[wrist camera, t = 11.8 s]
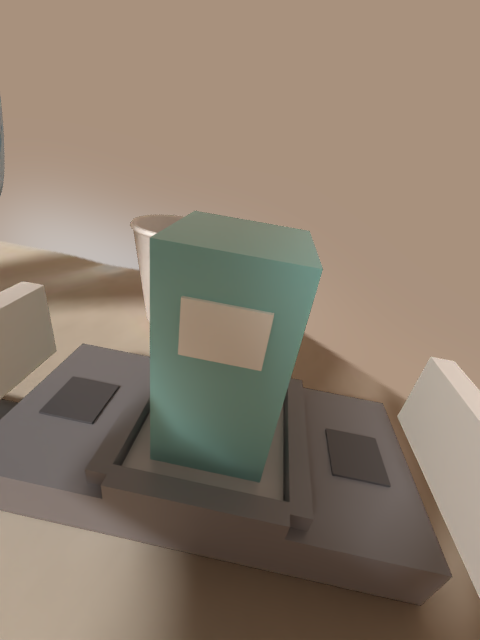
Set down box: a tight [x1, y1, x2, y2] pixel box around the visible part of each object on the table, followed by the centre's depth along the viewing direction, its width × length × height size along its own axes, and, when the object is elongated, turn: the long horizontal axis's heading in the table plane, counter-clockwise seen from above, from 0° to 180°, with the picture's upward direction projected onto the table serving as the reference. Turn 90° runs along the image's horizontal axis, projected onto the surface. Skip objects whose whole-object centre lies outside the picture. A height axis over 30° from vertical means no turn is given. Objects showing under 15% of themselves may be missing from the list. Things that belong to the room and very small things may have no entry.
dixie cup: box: [130, 215, 183, 322], centre depth 31 cm, size 8×8×10 cm
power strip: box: [0, 344, 452, 606], centre depth 18 cm, size 31×10×4 cm, turn 82°
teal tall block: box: [150, 211, 323, 483], centre depth 14 cm, size 6×6×11 cm
